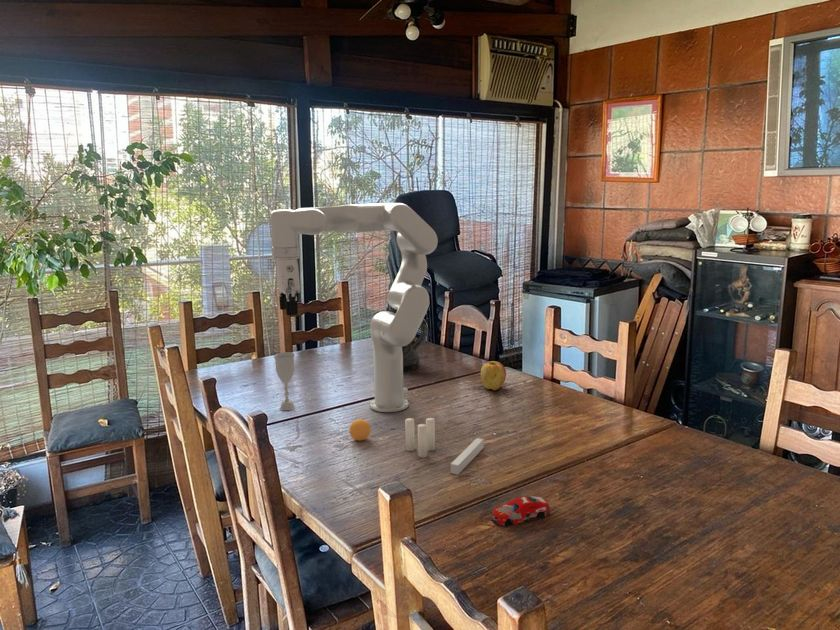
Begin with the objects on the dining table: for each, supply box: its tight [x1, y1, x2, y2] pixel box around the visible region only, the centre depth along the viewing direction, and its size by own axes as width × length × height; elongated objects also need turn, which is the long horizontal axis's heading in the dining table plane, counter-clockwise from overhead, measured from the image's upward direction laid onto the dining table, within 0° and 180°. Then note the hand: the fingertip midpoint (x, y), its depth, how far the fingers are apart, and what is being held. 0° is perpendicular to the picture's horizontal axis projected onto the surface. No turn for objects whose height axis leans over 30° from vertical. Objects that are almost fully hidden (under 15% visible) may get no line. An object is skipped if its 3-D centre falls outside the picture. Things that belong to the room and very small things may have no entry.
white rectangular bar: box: [450, 437, 485, 475], centre depth 163 cm, size 18×2×2 cm, turn 154°
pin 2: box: [425, 417, 436, 451], centre depth 170 cm, size 2×2×8 cm
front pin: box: [404, 417, 415, 452], centre depth 170 cm, size 2×2×8 cm
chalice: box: [273, 351, 296, 411], centre depth 203 cm, size 7×7×18 cm
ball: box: [349, 418, 371, 442], centre depth 177 cm, size 6×6×6 cm
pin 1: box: [417, 423, 428, 459], centre depth 166 cm, size 2×2×8 cm
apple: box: [480, 360, 507, 391], centre depth 221 cm, size 9×9×10 cm
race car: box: [491, 495, 551, 527], centre depth 135 cm, size 13×5×4 cm, turn 110°
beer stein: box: [389, 308, 429, 372], centre depth 249 cm, size 16×19×25 cm
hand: (288, 311), depth 182 cm, fingers open, 9 cm apart
